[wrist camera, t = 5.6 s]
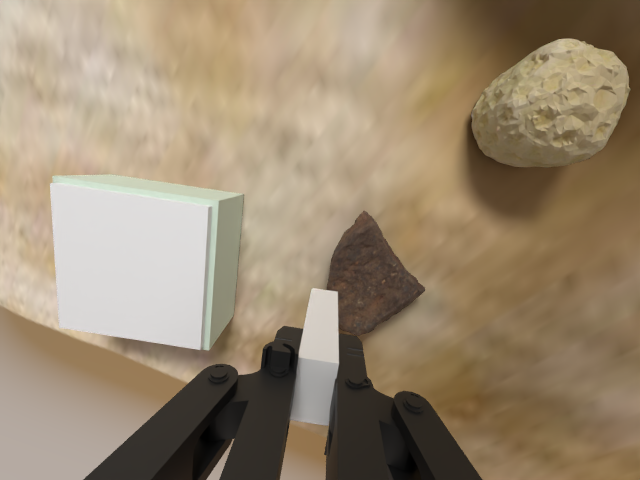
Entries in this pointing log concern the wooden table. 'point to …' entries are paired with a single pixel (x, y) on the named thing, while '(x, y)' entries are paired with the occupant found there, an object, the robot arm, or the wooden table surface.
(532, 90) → the decorative object
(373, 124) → the wooden table surface
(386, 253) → the rock
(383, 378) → the wooden table surface
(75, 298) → the scale
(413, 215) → the wooden table surface
